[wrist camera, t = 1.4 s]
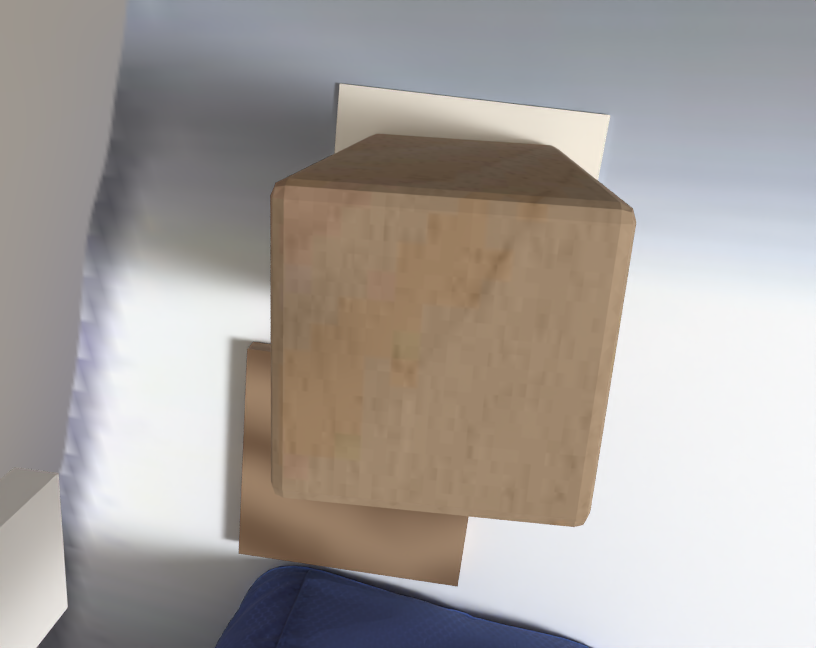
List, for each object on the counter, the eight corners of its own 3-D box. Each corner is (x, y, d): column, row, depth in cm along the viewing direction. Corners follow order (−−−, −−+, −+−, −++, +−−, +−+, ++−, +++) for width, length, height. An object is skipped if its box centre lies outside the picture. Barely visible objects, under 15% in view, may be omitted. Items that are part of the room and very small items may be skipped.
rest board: (253, 341, 43) (247, 348, 42) (489, 373, 42) (489, 381, 41) (244, 542, 48) (238, 553, 46) (457, 574, 47) (457, 586, 46)
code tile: (340, 83, 38) (339, 83, 38) (609, 115, 37) (610, 115, 37) (321, 334, 43) (320, 336, 42) (561, 367, 42) (561, 368, 42)
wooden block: (361, 312, 42) (266, 502, 23) (368, 132, 39) (265, 179, 20) (537, 327, 41) (590, 535, 22) (559, 145, 38) (643, 206, 19)
